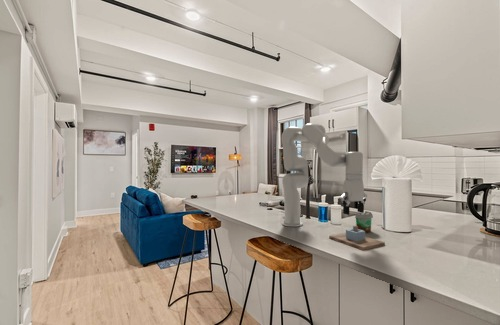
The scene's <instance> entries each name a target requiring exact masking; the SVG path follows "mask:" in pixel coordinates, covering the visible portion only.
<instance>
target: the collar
mask: <svg viewBox="0 0 500 325" xmlns="http://www.w3.org/2000/svg"><path fill="white" fill-rule="evenodd" d="M345 233H346V238H347V239H350V240H353V241H356V242H357V241H361V240H365V237H366V233H365V231H363V230H359V229H358V232H354V231H353V228H348V229H345Z"/></svg>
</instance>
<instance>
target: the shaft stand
mask: <svg viewBox="0 0 500 325" xmlns="http://www.w3.org/2000/svg"><path fill="white" fill-rule="evenodd" d="M352 229H353V231H354V232H358V226H356V225H353V226H352ZM328 238H329V239H331V240H333V241H336V242H338V243H342V244H344V245H347V246H350V247H353V248H356V249H359V250H361V251H366V250H371V249H374V248H378V247H383V246H385V244H386V243H385V242H386V241H382V240H378V239H374V238H371V237H368V236H365V240H361V241H357V242H356V241H353V240H350V239H347V238H346V232H342V233H337V234H331V235H329V236H328Z"/></svg>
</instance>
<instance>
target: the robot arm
mask: <svg viewBox="0 0 500 325" xmlns="http://www.w3.org/2000/svg"><path fill="white" fill-rule="evenodd" d="M295 142H301V143H302V142H309V143H311V144H312V146H314V147H315V149H316V150H315V151H316V153H317V156H318V157H319V158H320V159H321V161H322V162H323V163H324V164H326V165H327V166H329V167H332V168H334V167H335V168H337V167H341V168H342V167H345V180H343V181H344V182H343V185H342V186H343V187H342V194H341V195H340V196H339V200H340V203H341V205H342V206H343V208H342V211H343V212H342V213H343V214H344V215H348V216H349V215H350V206H349V205H350V204H351V203H354V202H355V203H356V202H357V212H358V213H360V214H361V213H365V204H366V201H367V197H368V194H366V193H365V189H364V187H365V186H364V185H365V184H364V180H363V179H364V178H363V177H364V176H363V172H364V171H363V169H364V167H363V166H364V164H363V163H364V161H363V160H364V155H363V152H361V151H335V150H333V149H331V148H330V147H329V146H328V144H329V142H330V138H329V136H328V135H327V134H326V128H325V126H323V125H321V124H319V123H312V122H311V123H310V122H309V123H306V124H304V125H303V126H302V127H299V126H298V127H297V126H289V127H286V128H285V129H284V130H283V132H282V134H281V145H282V146H281V147H282V152H283V153H282V154H283V166H284V167H283V168H284V170H285V171H287V172H288V173H286V174H285V175H283V177H282V179H281V182H282V188H283V198H284V200H283V201H284V204H283V205H284V208H283V209H284V215H283V216H282V219H283V221H282V222H281V224H282V226H286V227H291V228H292V227H293V228H294V227H295V228H296V227H302V226H303V224H304V223H303V222H302V221H301V199H300V198H301V197H300V196H301V194H300V193H299V190H298V189H302V188H305V187H307V186H308V184H309V178H310V177H309V165H308V161H307V160H308V159H306V158H305V157H304V156H301V155H298V148H297V146H296V143H295ZM289 172H291V173H289ZM293 172H294V173H293Z"/></svg>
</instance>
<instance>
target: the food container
mask: <svg viewBox="0 0 500 325" xmlns="http://www.w3.org/2000/svg"><path fill="white" fill-rule="evenodd" d="M372 213H373V212H371V211H367V210H364V213H361V212H360V213H355V215H354V216H355V226H358V229H359V230H363V231H365V234H370V233H371V232H372V219H373V217H374V215H373V214H372Z"/></svg>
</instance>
